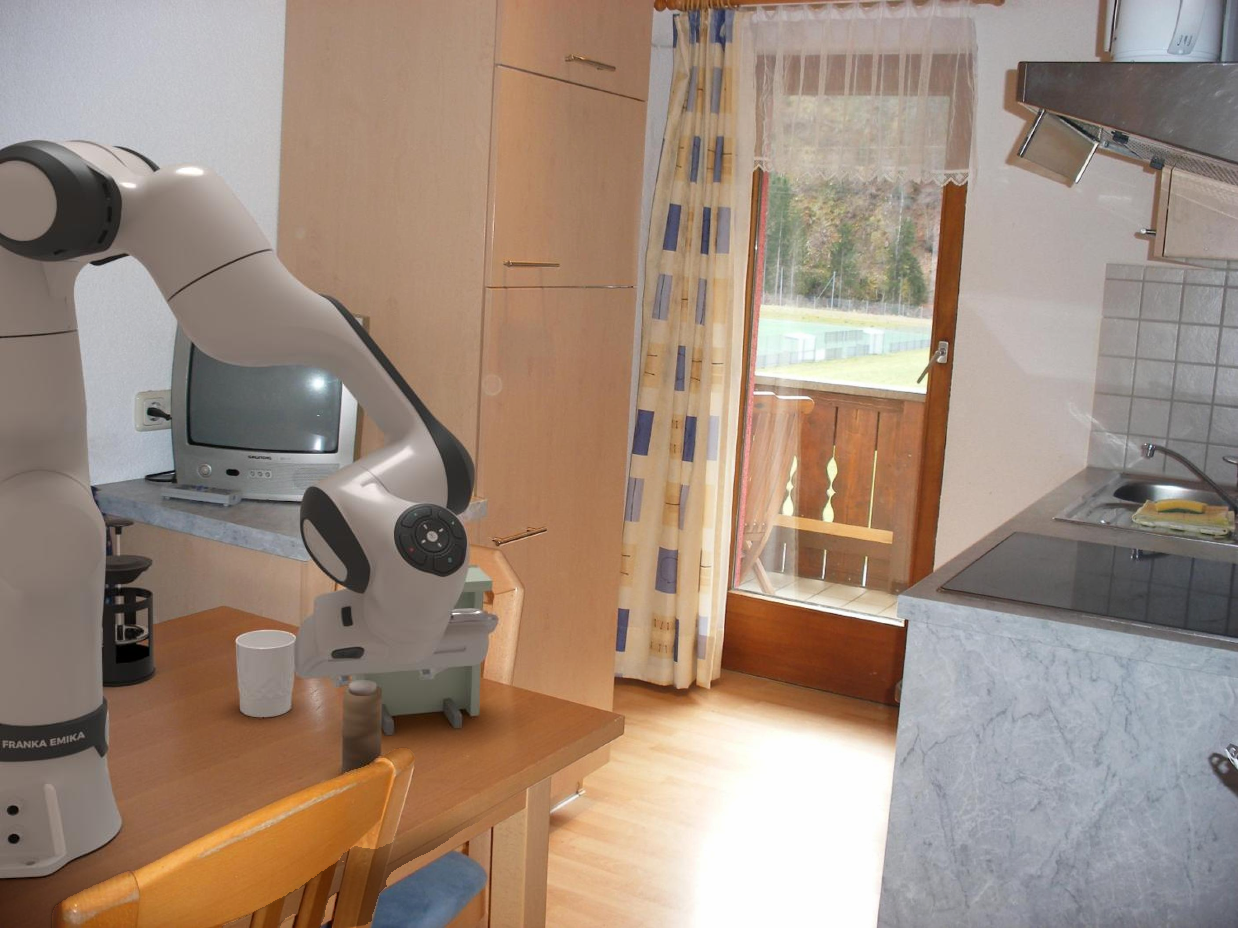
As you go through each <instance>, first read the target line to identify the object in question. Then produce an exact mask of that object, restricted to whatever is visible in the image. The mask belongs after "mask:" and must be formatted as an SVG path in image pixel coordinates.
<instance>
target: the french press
mask: <svg viewBox="0 0 1238 928" xmlns="http://www.w3.org/2000/svg"><path fill="white" fill-rule="evenodd" d="M104 522H105V526H106V528H107V527H110V528H114V535H115V536H116V543H117V544H116V546H117V550H116V552H117V554H113V555H106V565H105V585H109V586H111V585H112V586H113V585H114V586H115V585H116V586H117V587H107V588H104V599H106V598H112V597H114V598H115V597H117V603H115V604H113V603H104V604H103V615H102V686H103V687H108V688H113V687H116V688H117V687H127V686H134V685H136V684H141V683H144V682H147V681H149V680H150V679H152V678H153V677H155V675H156V668H155V665H154V664H155V661H154V659H155V658H154V657H155V656H154V655H155V654H154V650H155V649H154V593H153V591H151V590H149V589H147V588H142V587H136V586H135V587H133V586H121V585H128V584H130V583H133V582H134V581H136V580H137V579H139V577H140V576H141V574H143V572H147V571H148V570H149V568H150V567H152V565H153V562H154V561H153V560H152V559H151V558H149V557H147V556H143V555H135V554H121V538H120V537H121V535H122V533H123V527H131V526H133V525H134V524H135V522H134V521H133V520H131V519H126V518H114V519H113V518H112V519H108V520H104ZM122 597H123V603H122V599H121V598H122ZM137 597H138V598H144V599H142V600H138V601H137ZM146 609H147V626H145V625H142V624H137V612H139V611H143V610H146ZM116 614H117V615H118V616H117V617H118V619H117V620H118V623H117V624H116ZM122 614H123V623H122ZM146 640H147V642H148V644H147V645H146V644H145V645H144V644H140V643H141V642H144V641H146Z"/></svg>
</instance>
